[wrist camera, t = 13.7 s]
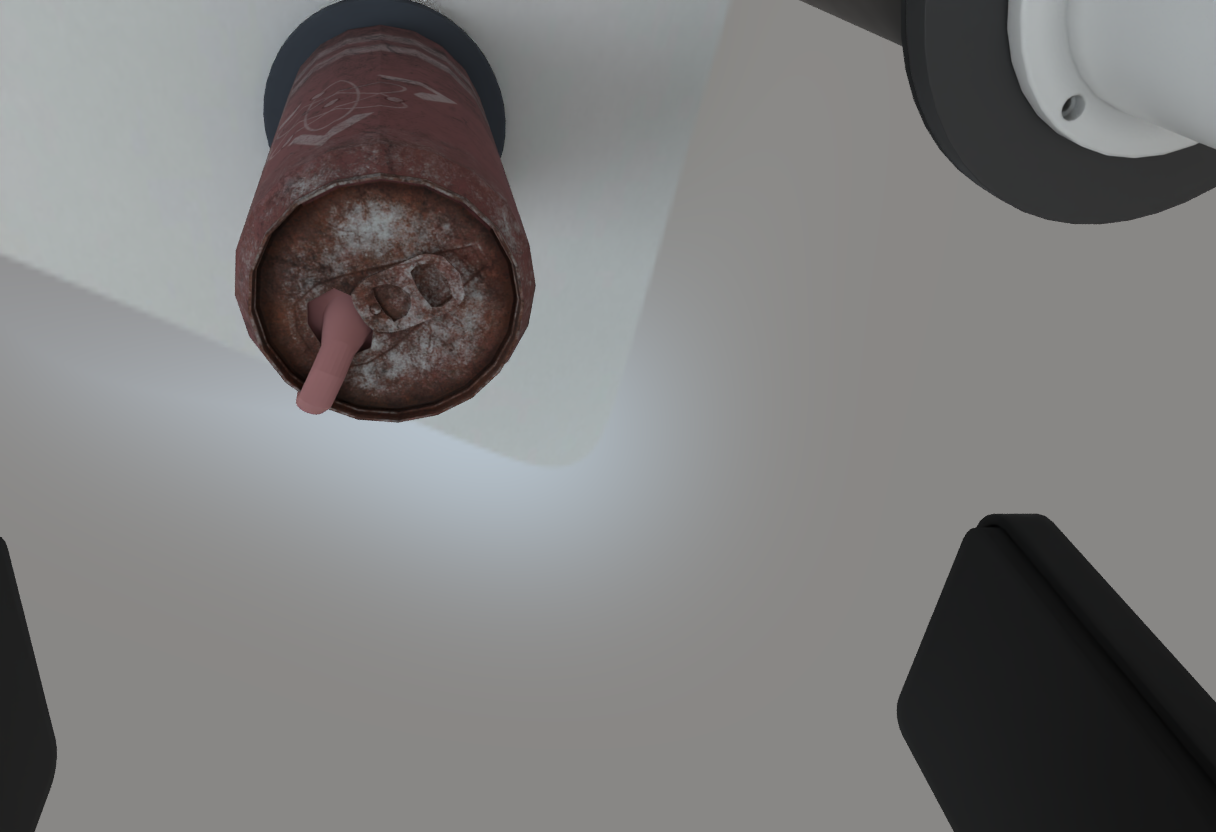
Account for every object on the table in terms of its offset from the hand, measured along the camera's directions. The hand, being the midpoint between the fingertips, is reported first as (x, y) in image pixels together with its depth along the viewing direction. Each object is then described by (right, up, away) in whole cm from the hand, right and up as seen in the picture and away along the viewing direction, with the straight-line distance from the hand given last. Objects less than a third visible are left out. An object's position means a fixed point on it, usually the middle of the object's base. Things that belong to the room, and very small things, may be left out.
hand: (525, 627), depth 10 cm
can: (-6, +12, +21) cm, 25 cm away
